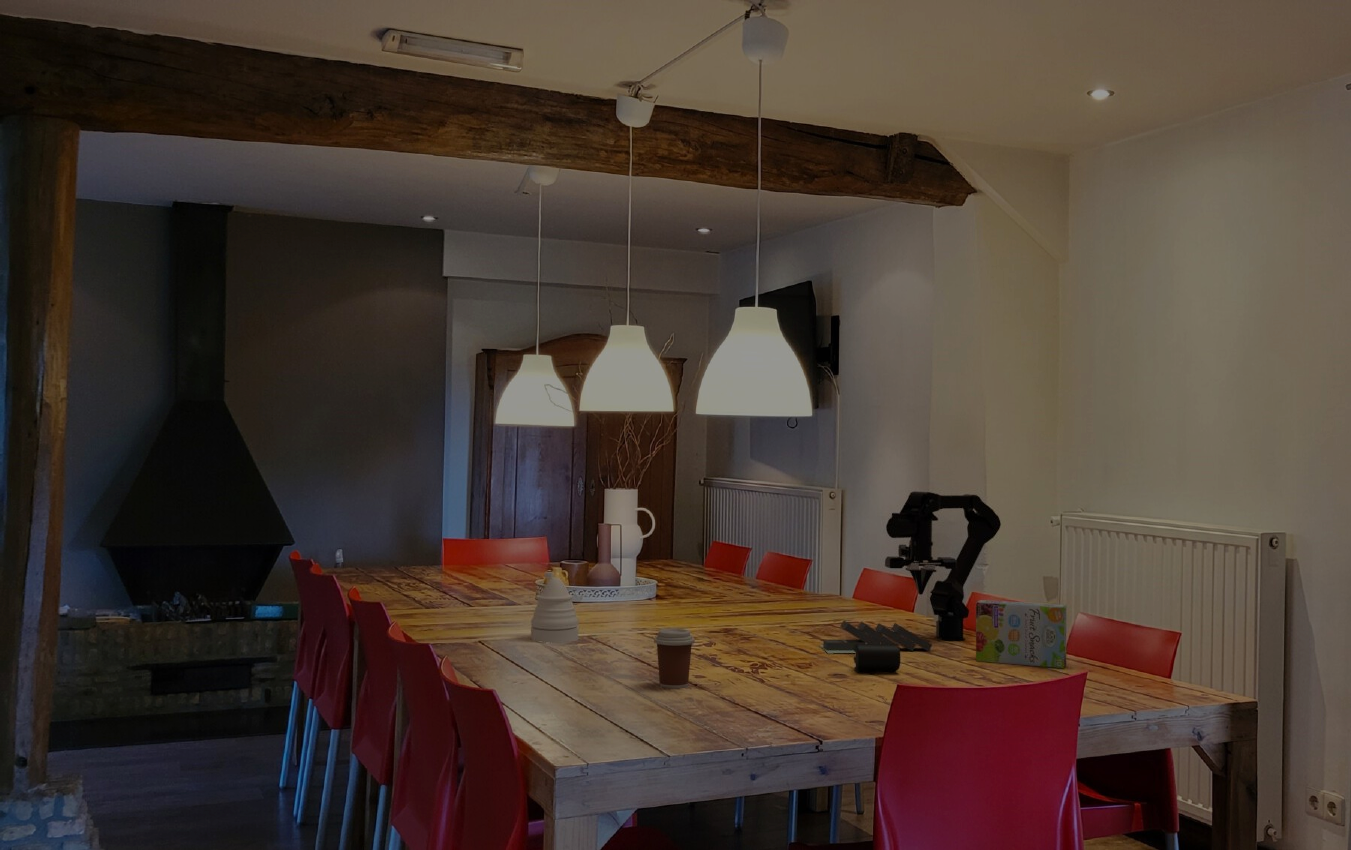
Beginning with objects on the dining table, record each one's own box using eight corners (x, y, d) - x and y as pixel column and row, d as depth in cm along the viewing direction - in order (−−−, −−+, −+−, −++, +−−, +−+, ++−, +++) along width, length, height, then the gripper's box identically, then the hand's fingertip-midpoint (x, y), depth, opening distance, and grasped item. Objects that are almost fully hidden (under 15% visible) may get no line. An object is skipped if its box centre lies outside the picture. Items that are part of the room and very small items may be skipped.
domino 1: (875, 639, 299) (844, 619, 299) (880, 642, 294) (848, 622, 294) (871, 646, 299) (839, 626, 299) (876, 649, 294) (844, 629, 294)
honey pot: (522, 640, 305) (523, 573, 305) (545, 633, 317) (546, 569, 317) (564, 644, 300) (565, 576, 300) (586, 637, 312) (587, 571, 312)
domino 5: (860, 638, 299) (823, 638, 298) (865, 642, 294) (827, 642, 293) (860, 646, 299) (823, 647, 298) (865, 650, 294) (827, 650, 293)
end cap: (858, 675, 263) (858, 646, 264) (852, 669, 270) (852, 640, 271) (900, 675, 264) (900, 646, 264) (893, 669, 271) (893, 640, 271)
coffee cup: (680, 691, 243) (681, 635, 243) (645, 686, 248) (645, 631, 248) (702, 684, 251) (702, 629, 251) (667, 679, 256) (667, 626, 256)
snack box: (1066, 665, 278) (1067, 604, 279) (1064, 669, 273) (1064, 606, 273) (978, 657, 287) (979, 598, 287) (974, 661, 282) (975, 601, 282)
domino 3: (911, 640, 300) (878, 622, 299) (916, 644, 295) (883, 625, 294) (907, 648, 300) (874, 629, 299) (912, 651, 295) (879, 632, 294)
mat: (852, 645, 302) (852, 644, 302) (862, 653, 290) (862, 652, 290) (818, 645, 302) (818, 644, 302) (828, 654, 290) (828, 652, 290)
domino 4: (927, 640, 300) (895, 622, 300) (932, 644, 295) (900, 625, 295) (923, 647, 300) (891, 629, 300) (928, 651, 295) (896, 632, 295)
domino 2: (892, 641, 300) (861, 620, 299) (897, 644, 295) (866, 623, 294) (888, 648, 300) (857, 627, 299) (893, 651, 295) (861, 630, 294)
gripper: (945, 535, 319) (944, 591, 319) (880, 534, 318) (879, 590, 317) (958, 538, 308) (957, 596, 308) (890, 537, 307) (890, 595, 306)
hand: (920, 594), depth 310 cm, fingers closed
